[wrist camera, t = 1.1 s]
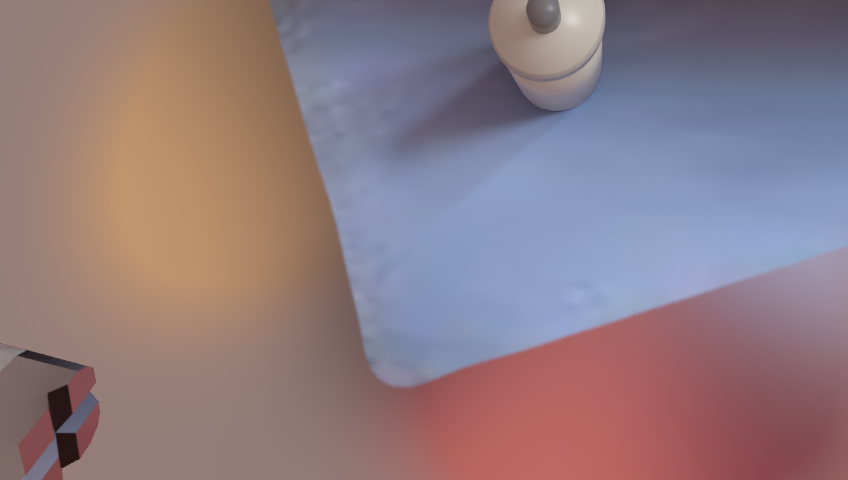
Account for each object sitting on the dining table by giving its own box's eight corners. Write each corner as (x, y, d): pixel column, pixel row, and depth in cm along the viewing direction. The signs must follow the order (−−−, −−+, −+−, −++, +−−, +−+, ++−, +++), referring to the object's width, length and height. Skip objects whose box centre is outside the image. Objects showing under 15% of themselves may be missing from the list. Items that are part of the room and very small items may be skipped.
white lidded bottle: (535, 13, 39) (510, -70, 28) (617, 41, 38) (626, -34, 27) (501, 95, 40) (464, 46, 29) (581, 125, 39) (575, 86, 28)
